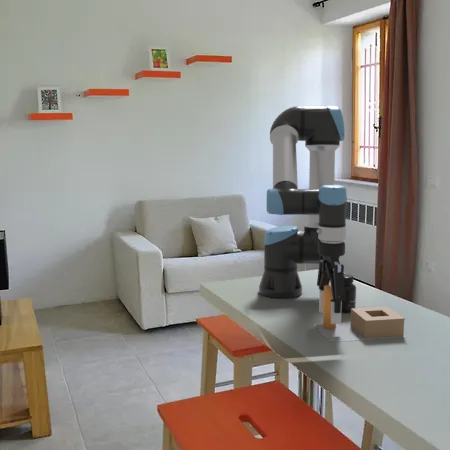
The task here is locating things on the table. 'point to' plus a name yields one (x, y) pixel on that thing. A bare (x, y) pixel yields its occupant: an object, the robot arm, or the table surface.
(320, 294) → the robot arm
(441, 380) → the table surface
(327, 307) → the peg
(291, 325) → the table surface
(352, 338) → the socket board
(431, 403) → the table surface
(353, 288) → the supplement bottle
